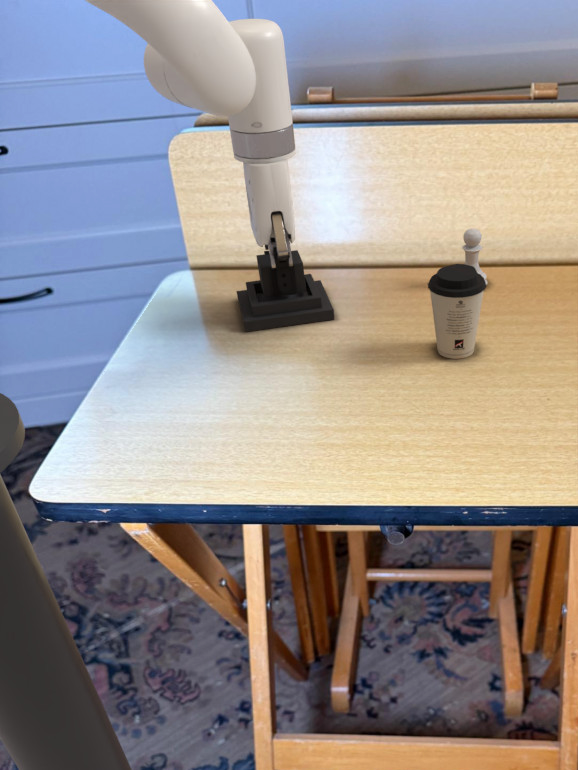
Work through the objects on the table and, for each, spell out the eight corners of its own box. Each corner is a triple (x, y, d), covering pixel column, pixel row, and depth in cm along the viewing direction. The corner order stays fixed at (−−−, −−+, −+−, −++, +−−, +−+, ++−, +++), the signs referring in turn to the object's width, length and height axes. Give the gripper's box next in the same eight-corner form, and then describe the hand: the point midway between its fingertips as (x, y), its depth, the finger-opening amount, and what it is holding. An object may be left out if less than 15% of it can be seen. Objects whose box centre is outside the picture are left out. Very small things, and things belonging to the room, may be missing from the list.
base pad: (245, 332, 105) (242, 311, 103) (238, 301, 113) (234, 280, 111) (334, 319, 107) (332, 298, 105) (321, 289, 115) (319, 269, 113)
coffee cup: (470, 368, 96) (472, 289, 90) (418, 356, 99) (417, 279, 92) (491, 343, 101) (495, 266, 94) (442, 332, 104) (442, 257, 97)
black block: (264, 297, 106) (260, 268, 103) (260, 283, 109) (256, 255, 106) (306, 291, 107) (303, 262, 104) (300, 278, 110) (297, 249, 107)
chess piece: (477, 275, 117) (479, 220, 112) (493, 287, 114) (496, 231, 108) (448, 281, 115) (449, 226, 110) (464, 294, 112) (466, 237, 107)
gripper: (225, 127, 101) (248, 266, 113) (239, 165, 89) (262, 317, 101) (284, 121, 103) (300, 259, 115) (305, 158, 90) (320, 309, 102)
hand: (282, 285), depth 108 cm, fingers closed on black block, 4 cm apart
